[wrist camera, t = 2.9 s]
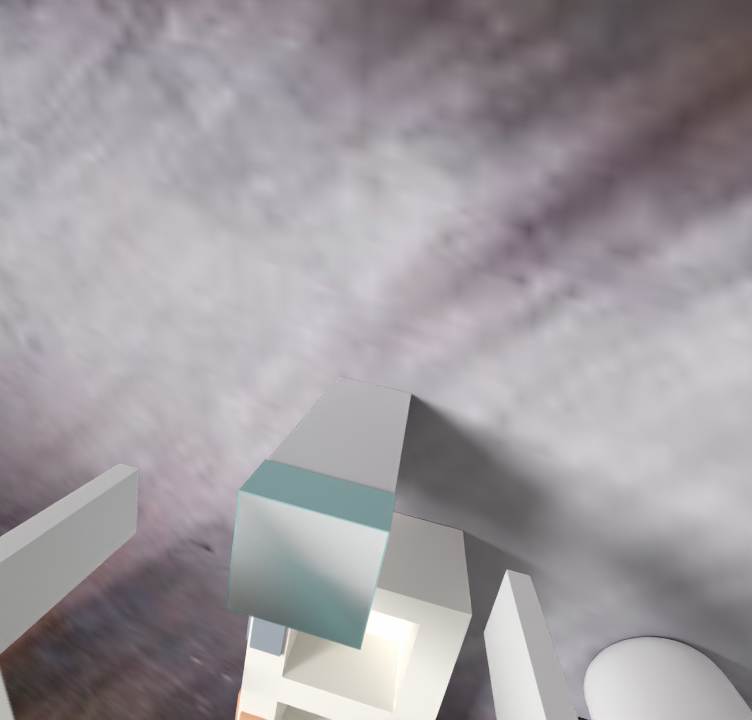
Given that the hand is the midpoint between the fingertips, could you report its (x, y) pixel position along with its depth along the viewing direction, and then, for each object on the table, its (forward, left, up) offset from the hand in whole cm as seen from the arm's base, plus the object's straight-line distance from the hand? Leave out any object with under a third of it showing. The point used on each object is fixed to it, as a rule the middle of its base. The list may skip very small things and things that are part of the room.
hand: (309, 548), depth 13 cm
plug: (0, 0, -11) cm, 11 cm away
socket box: (+15, +2, -11) cm, 18 cm away
